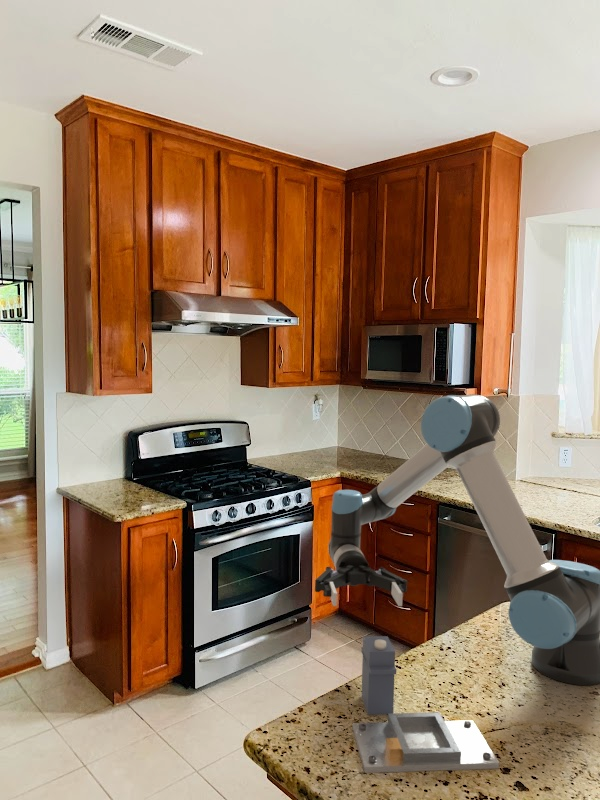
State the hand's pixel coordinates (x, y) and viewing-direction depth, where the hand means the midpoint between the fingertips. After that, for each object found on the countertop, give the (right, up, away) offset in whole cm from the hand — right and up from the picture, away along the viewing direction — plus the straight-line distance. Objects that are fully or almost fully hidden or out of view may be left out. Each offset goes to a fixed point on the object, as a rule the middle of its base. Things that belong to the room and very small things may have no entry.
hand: (368, 599), depth 128 cm
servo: (+1, -17, -9) cm, 19 cm away
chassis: (+7, -18, -22) cm, 29 cm away
